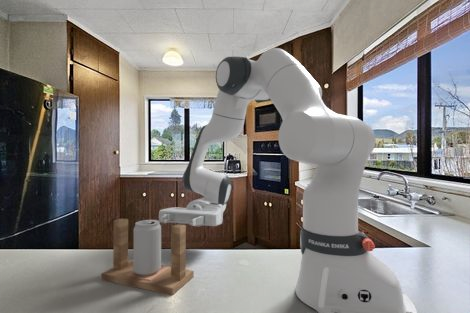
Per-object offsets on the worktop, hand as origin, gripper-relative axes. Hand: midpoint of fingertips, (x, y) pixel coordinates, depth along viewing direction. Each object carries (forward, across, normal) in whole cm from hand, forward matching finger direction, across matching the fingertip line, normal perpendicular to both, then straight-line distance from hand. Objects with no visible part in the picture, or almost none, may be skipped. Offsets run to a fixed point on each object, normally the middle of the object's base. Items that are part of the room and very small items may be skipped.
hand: (176, 221), depth 73 cm
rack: (+12, 0, +11) cm, 16 cm away
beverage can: (+12, -1, +10) cm, 15 cm away
